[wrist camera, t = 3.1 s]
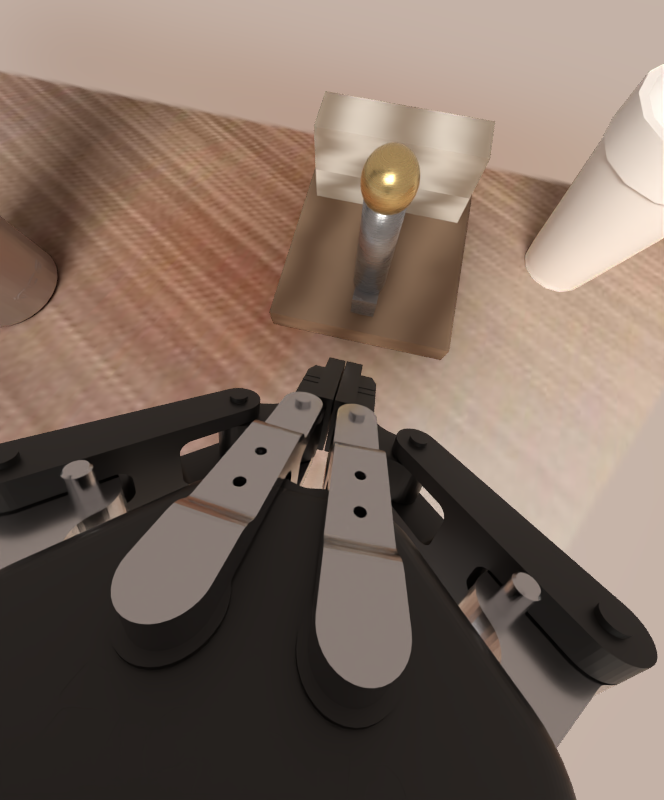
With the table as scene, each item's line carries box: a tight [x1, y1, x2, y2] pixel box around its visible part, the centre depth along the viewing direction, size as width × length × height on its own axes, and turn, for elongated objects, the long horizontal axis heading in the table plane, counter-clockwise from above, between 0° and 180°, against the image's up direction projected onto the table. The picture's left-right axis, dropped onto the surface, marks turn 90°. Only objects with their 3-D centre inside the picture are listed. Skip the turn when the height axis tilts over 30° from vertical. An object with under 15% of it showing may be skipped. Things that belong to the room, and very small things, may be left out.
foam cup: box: [525, 64, 664, 292], centre depth 24 cm, size 10×9×13 cm
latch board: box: [269, 91, 495, 360], centre depth 26 cm, size 16×18×8 cm
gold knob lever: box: [351, 142, 420, 317], centre depth 21 cm, size 3×9×12 cm, turn 167°
